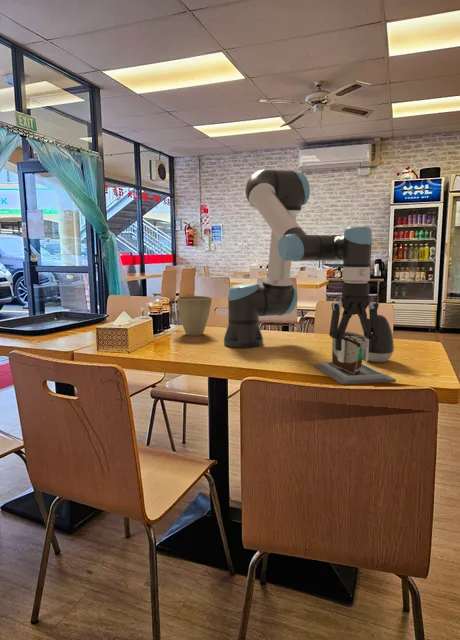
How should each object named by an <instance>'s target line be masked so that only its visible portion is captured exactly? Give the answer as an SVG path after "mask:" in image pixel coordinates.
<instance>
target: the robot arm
mask: <svg viewBox="0 0 460 640" xmlns="http://www.w3.org/2000/svg"><path fill="white" fill-rule="evenodd" d="M310 194H311V188H310V182H309V179H308V178H307V175H305V174H304V173H302V172H300V171H295V170H277V169H270V168H269V169H267V168H266V169H260V170H258V171H256V172H255V173H253V174H252V175H251V176H250V177H249V178H248V180H247V182H246V185H245V197H246V200H247V202H248V203H249V205H250V206H251V207H252V208H253V209H256V210H257V211H258V212H259V214H260V215H261V216H262V218H263V219H264V221H265V222H266V224H267V225H268V226H269V228H270V229H271V231H270V232H271V233H270V244H269V245H270V246H269V253H268V265H267V273H266V275H267V276H266V277H265V278H264V279H262V285H260V283H258V282H244V283H238V284H234V285H232V286H230V287H229V288H228V295H227V296H228V297H227V300H228V304H227V305H228V307H227V309H228V314H227V315H228V324H227V328H226V331H225V333H224V337H223V345H224V346H226V347H231V348H240V349H247V348H248V349H249V348H259V347H261V346H263V345H264V337H263V334H262V331H261V327H260V323H259V321H260V317H273V316H278V317H279V316H280V317H281V316H284V315H285V316H286V315H289V314H291V313H292V312H293V311H294V310H295V308H296V306H297V303H298V291H297V288H296V287H295V286H294V282H293V281H292V280H291V278H290V276H291V267H292V262H305V261H306V262H310V261H312V262H313V261H314V262H315V261H316V262H317V261H318V262H319V261H320V262H321V261H324V262H325V261H326V262H327V261H328V262H329V261H330V262H335V261H336V262H338V261H343V262H342V281H343V283H341V300H340V301H339V302H332V303H331V305H330V306H331V310H332V311H331V318H330V325H329V326H330V328H329V334H328V336H329V337H330V338H331V337H333V338H335V339H336V344H335V349H336V350H337V351H338V361H340V362H341V363H344V351H345V340H343V339H342V338H343V336H344V333H345V332H346V330H347V329H348V325H349V323H350V319H352V316H354V315H357V316H358V319H359V321H360V324H361V328H362V329H361V330H362V332H363V334H364V335H365V337H366V338H367V341H368V347H367V348H365V350H364V355H363V360H362V361H364V362H369V360H368V351H369V349H371V340H372V339H373V338H374V337H375V336H378V319H377V315H378V309H379V306H380V305H379V304H380V303H379V302H375V301H370V298H369V297H370V289H371V288H370V283H369V281H370V280H371V263H372V261H371V260H372V246H373V245H372V243H373V241H372V239H373V237H372V228H370V227H369V226H348V227H345V229H344V232H343V234H342V235H341V234H340V235H339V234H338V235H333V234H329V235H327V234H324V235H322V234H321V235H320V234H307V233H306V232H305V231H304V230H303V228H302V227H301V226H300V225H299V223H298V222H297V215H298V214H299V213H300V212H302V206H305V205H306V204H307V203H308V200H309V198H310ZM342 308H343V312H342V314H340V313H341V310H342ZM367 308H368V314H369V318H368V315H367ZM340 315H342V317H341V319H340ZM367 318H368V319H370V326H369V323H368V319H367ZM339 321H340V322H339ZM333 338H332V339H333Z"/></svg>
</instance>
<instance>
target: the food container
mask: <svg viewBox="0 0 460 640" xmlns="http://www.w3.org/2000/svg"><path fill="white" fill-rule="evenodd" d="M330 338H331V339H332V346H331V351H332V352H331V362H332V365H334V366H336V367H339V368H341V369H343V370H345V371H347V372H350V373H352V374H354V375H355V374H358V373H359V372H360V369H361V364H362V363H363V361H364V360H363V355H364V350H365V348H367V347H368V341H367V338H366V337H365V336H363V334H359V333H356V332H355V333H354V332H351V331H345V333H344V336H343V338H342V339H343V340H345V351H344V363H341V362H340V361H338V351H337V350H336V349H335V344H336V339H335V338H333V337H330Z"/></svg>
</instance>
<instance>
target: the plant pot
mask: <svg viewBox="0 0 460 640" xmlns="http://www.w3.org/2000/svg"><path fill="white" fill-rule="evenodd" d="M176 301H177V307H178V308H177V309H178V312H179V313H178V314H179V316H180V317H179V318H180V321H181V325H182V327H183V330H184V333H185V335H187V336H194V337H195V336H202V335H203V334H204V332H205V329H206V326H207V323H208V319H209V315H210V311H211V305H212V297H211V296H203V295H188V296H187V295H186V296H183V295H182V296H177V297H176Z"/></svg>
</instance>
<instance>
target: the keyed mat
mask: <svg viewBox="0 0 460 640" xmlns="http://www.w3.org/2000/svg"><path fill="white" fill-rule="evenodd" d="M313 367H314V368H315V369H317V370H319V371H320V372H322V373H323V372H324V373H323V374H325V375H326V374H327V375H326V376H328V377H329V378H331V379H332V380H334V381H335V382H337V383H338V384H339V385H341V386H342V385H343V386H344V385H359V384H375V383H391V382H392V383H395V382H396V381H397V380H396V378H394V377H392V376H390V375H388V374H387V373H384V372H383V371H380V370H378V369H376V368H374V367H372V366H370V365H368V364H365V363H364V362H362V364H361V369H360V372H359V373H358V374H355V375H354V374H352V373H350V372H347V371H345V370H343V369H341V368H339V367H336V366H334V365H332V361H321V363H315V364H313ZM394 381H395V382H394Z"/></svg>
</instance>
